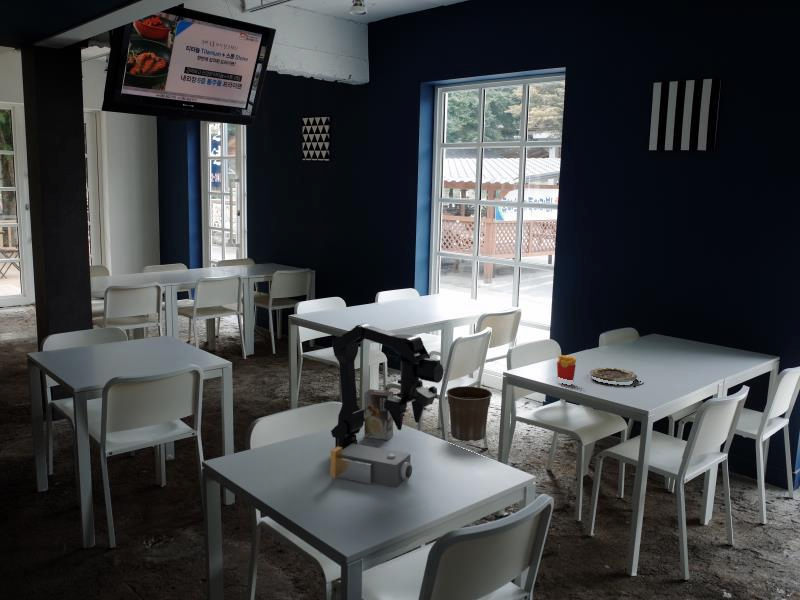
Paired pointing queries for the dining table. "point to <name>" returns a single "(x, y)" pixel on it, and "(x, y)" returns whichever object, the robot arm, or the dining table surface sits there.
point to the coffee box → (377, 415)
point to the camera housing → (382, 463)
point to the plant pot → (468, 412)
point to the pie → (613, 374)
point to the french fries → (566, 367)
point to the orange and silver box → (349, 468)
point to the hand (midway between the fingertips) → (408, 426)
